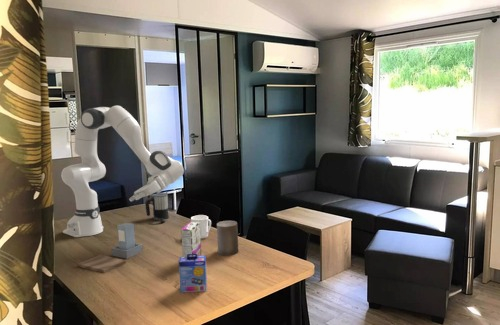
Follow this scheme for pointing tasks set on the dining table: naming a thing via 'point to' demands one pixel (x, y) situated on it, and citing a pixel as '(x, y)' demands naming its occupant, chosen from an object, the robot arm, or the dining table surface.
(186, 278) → the ink cartridge box
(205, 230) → the mug
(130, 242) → the slate box
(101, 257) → the walnut board
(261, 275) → the dining table surface
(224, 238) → the pillar candle
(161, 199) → the milk frother
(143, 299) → the dining table surface
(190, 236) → the candy bar box
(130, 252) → the gray bin
